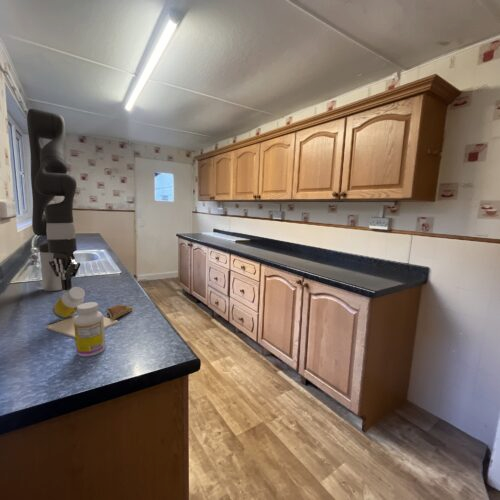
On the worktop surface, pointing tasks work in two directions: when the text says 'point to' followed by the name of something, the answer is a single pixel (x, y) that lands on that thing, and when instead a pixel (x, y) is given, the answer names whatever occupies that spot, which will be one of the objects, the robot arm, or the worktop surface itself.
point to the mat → (68, 325)
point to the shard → (118, 311)
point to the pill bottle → (69, 302)
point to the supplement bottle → (89, 330)
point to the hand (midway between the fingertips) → (67, 289)
